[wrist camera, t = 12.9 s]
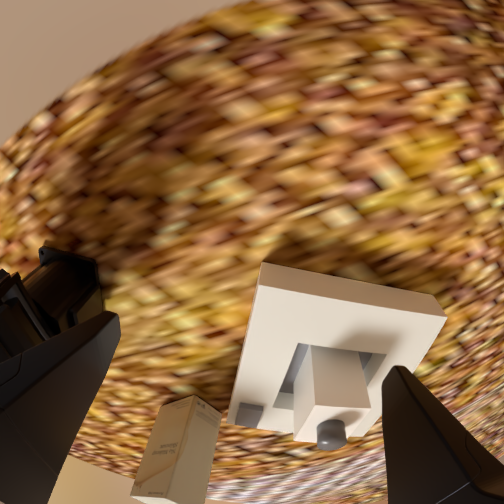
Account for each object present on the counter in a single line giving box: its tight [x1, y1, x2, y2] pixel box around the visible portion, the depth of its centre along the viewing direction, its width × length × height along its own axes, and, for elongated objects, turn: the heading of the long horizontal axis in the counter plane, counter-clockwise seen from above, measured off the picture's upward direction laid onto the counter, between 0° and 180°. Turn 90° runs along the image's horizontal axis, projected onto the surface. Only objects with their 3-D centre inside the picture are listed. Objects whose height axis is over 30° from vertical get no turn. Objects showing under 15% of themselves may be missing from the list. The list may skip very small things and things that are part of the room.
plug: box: [293, 345, 371, 450], centre depth 20 cm, size 4×5×8 cm
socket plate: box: [226, 262, 448, 436], centre depth 23 cm, size 14×16×4 cm
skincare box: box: [130, 395, 222, 504], centre depth 24 cm, size 6×4×12 cm
